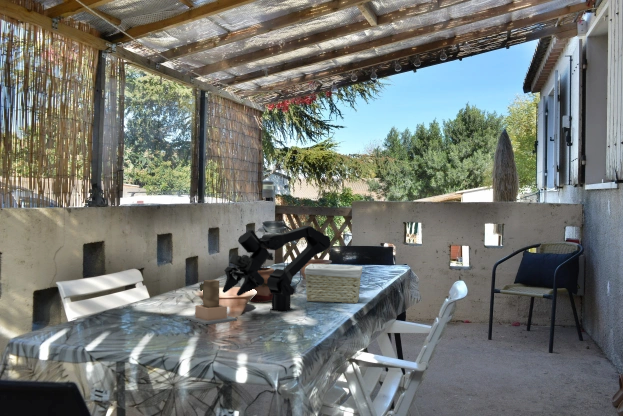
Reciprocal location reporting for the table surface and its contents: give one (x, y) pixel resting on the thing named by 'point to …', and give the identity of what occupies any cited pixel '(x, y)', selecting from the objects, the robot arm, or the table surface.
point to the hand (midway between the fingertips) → (230, 293)
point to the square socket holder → (210, 315)
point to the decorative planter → (263, 287)
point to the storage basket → (333, 283)
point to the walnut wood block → (211, 293)
